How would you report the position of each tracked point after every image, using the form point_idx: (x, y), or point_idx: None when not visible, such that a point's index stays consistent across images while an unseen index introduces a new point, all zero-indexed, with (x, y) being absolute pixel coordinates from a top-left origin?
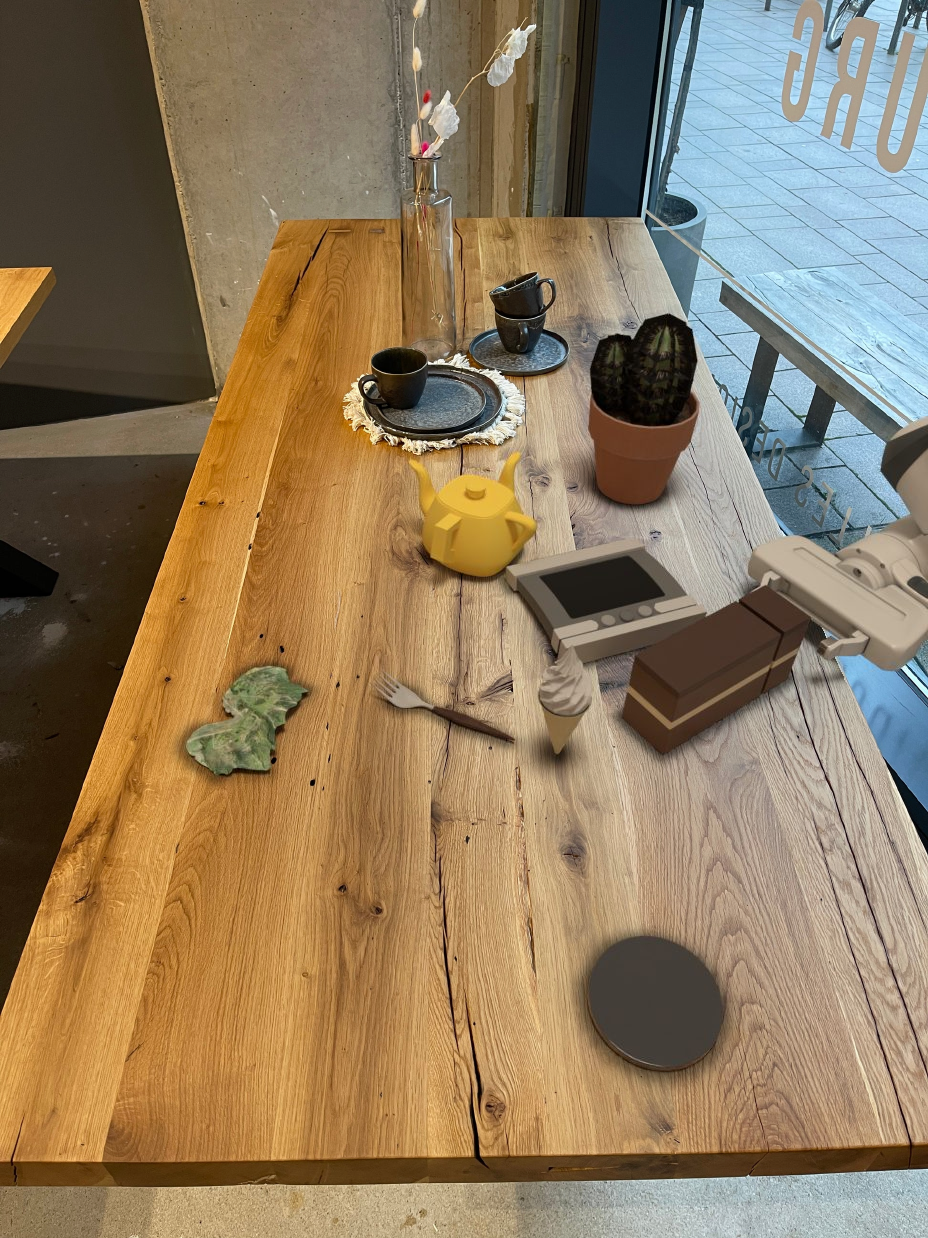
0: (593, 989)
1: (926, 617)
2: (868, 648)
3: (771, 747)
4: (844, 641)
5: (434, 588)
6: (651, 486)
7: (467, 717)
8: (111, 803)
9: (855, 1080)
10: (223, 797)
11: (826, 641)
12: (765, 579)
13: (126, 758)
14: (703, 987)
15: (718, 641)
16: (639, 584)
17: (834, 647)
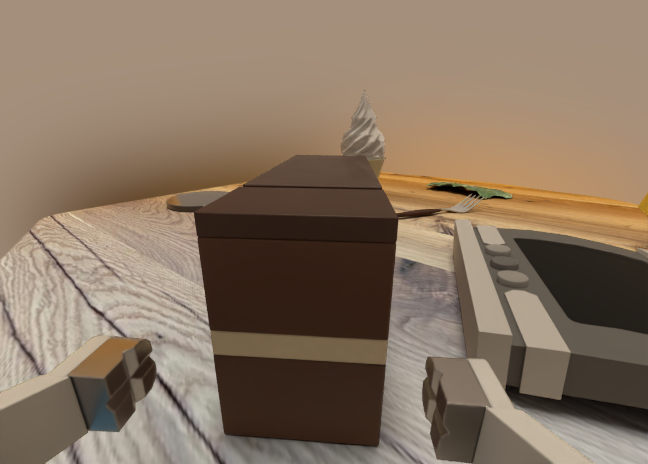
0: None
1: None
2: None
3: (196, 305)
4: (32, 384)
5: (626, 245)
6: None
7: (420, 211)
8: (434, 178)
9: (82, 216)
10: (420, 184)
11: (122, 344)
12: (572, 461)
13: (458, 180)
14: (181, 203)
15: (318, 167)
16: (625, 314)
17: (87, 342)
